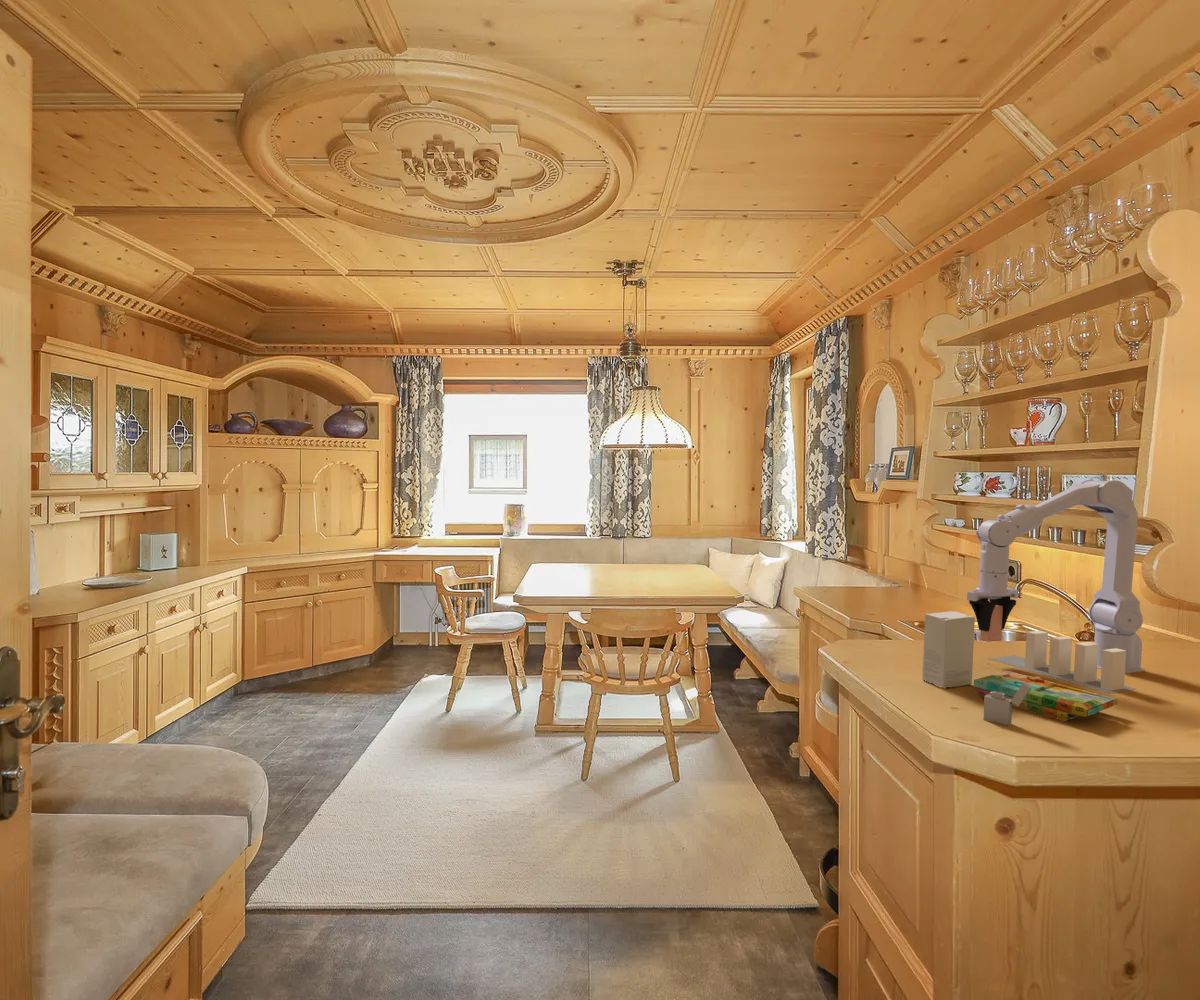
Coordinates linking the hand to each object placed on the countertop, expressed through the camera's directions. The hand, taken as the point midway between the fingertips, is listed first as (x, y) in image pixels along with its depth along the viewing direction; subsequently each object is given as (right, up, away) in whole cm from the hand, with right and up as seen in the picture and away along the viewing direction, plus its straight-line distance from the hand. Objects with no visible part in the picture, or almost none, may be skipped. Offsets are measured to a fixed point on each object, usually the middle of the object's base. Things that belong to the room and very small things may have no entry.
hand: (991, 629), depth 160 cm
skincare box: (-18, -9, -15) cm, 25 cm away
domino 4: (+14, -9, -12) cm, 20 cm away
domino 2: (+9, -8, -2) cm, 13 cm away
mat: (+11, -9, -6) cm, 16 cm away
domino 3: (+11, -9, -7) cm, 16 cm away
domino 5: (+16, -9, -17) cm, 25 cm away
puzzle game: (-6, -10, -28) cm, 31 cm away
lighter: (-19, -10, -38) cm, 43 cm away
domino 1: (0, -2, 0) cm, 2 cm away
